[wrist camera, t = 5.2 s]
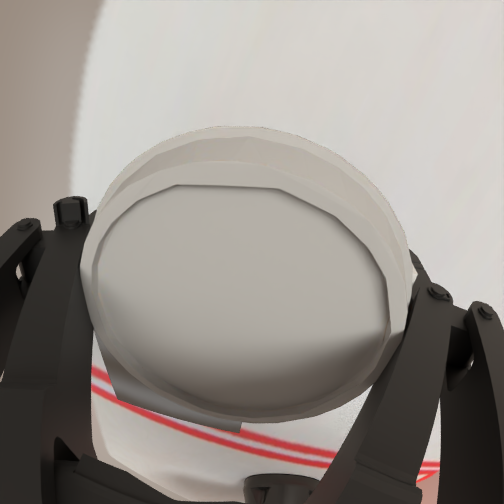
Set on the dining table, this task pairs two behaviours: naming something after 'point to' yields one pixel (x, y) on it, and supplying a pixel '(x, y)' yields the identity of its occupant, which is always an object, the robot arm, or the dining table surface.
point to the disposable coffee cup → (247, 275)
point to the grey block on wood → (154, 396)
